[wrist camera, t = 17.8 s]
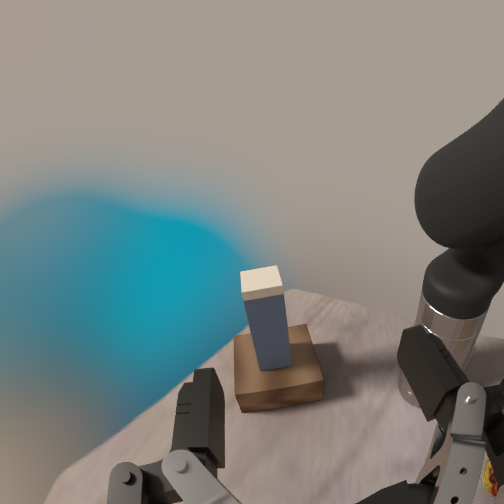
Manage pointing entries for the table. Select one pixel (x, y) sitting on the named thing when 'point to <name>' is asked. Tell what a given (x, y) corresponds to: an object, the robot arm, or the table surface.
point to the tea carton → (267, 317)
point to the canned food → (489, 480)
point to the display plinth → (277, 374)
